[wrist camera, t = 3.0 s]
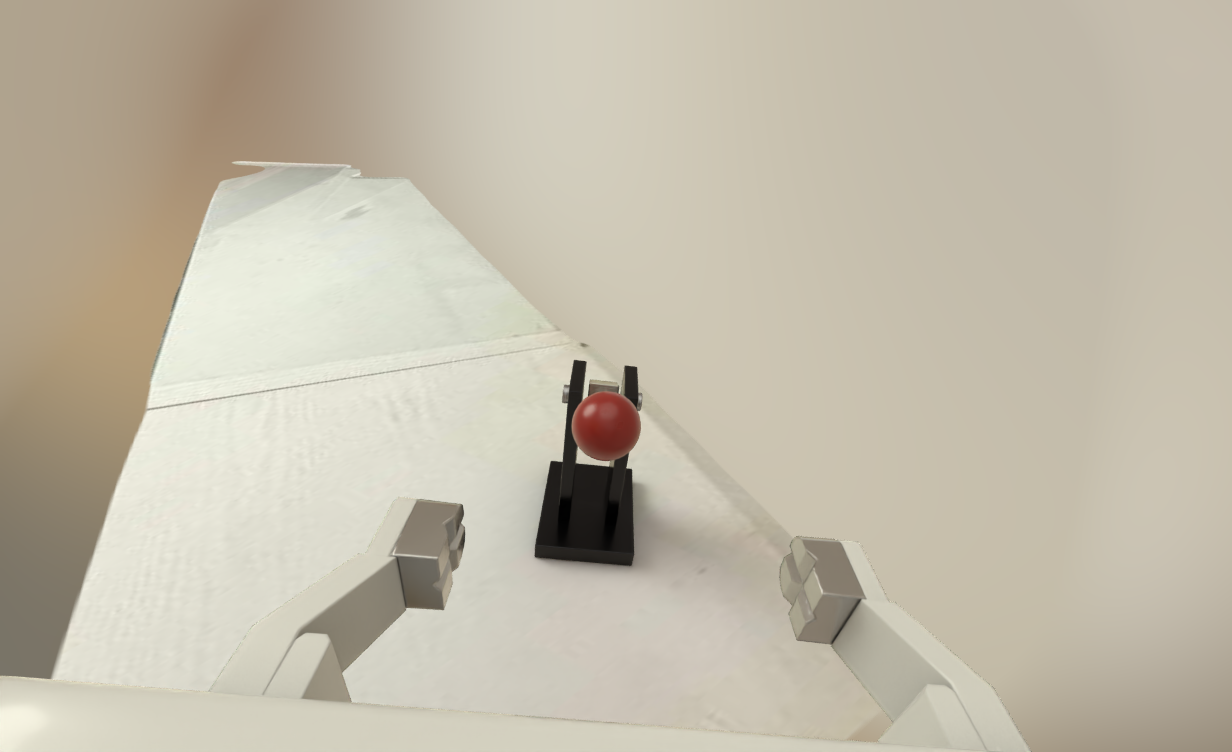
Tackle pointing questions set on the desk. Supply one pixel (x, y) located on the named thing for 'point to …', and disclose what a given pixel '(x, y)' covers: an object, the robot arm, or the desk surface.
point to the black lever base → (588, 494)
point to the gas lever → (606, 422)
